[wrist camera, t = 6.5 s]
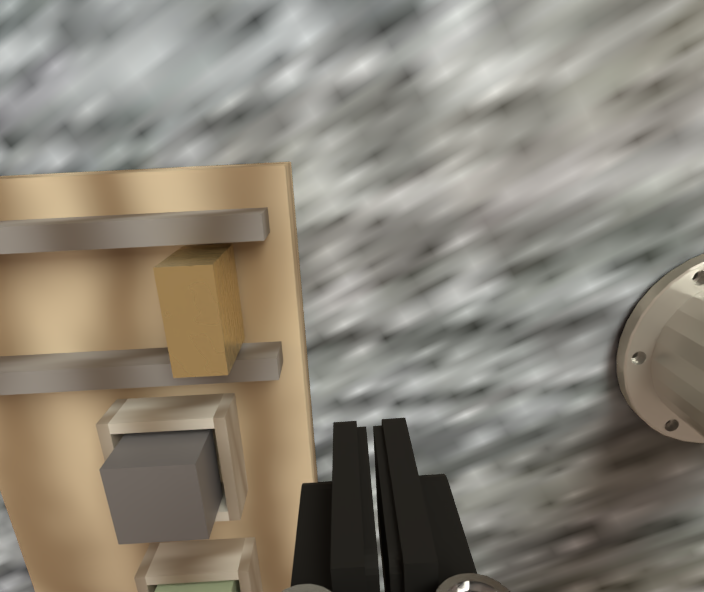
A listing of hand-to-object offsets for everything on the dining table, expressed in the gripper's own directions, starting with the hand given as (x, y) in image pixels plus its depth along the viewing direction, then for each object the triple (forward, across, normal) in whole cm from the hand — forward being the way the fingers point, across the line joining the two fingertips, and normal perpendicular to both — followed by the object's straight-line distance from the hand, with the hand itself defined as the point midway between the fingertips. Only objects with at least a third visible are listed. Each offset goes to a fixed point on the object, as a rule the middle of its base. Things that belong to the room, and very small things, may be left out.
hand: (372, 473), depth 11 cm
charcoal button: (+12, +10, +9) cm, 18 cm away
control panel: (+17, +12, +9) cm, 22 cm away
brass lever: (+14, +7, 0) cm, 15 cm away
